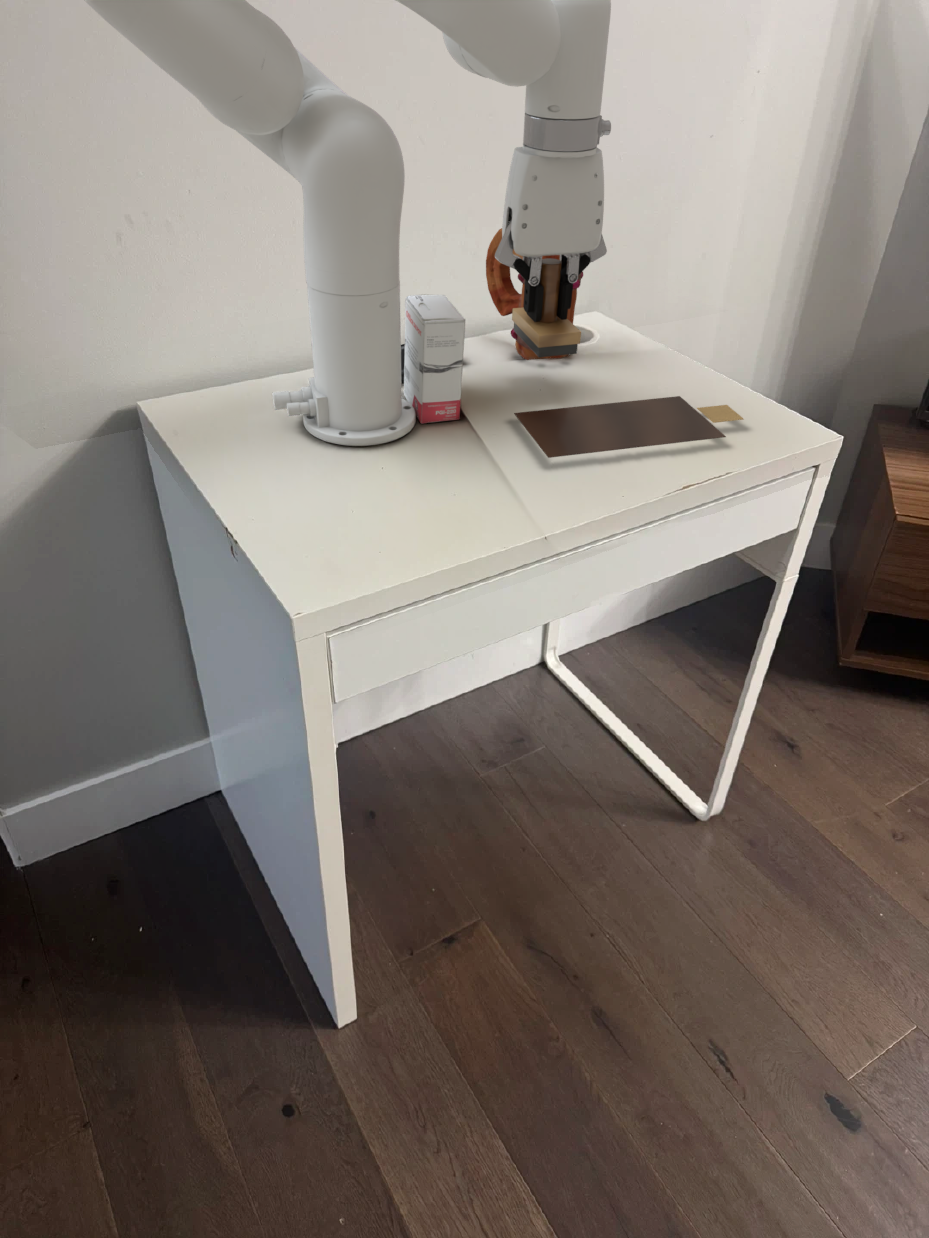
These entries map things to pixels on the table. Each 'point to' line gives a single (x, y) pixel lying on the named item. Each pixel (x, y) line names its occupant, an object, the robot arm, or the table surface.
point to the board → (616, 426)
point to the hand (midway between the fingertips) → (546, 315)
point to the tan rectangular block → (720, 413)
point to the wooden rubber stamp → (547, 319)
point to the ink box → (433, 357)
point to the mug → (515, 293)
